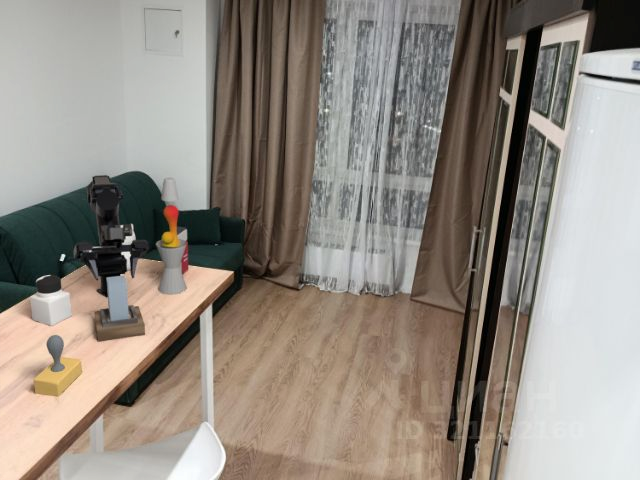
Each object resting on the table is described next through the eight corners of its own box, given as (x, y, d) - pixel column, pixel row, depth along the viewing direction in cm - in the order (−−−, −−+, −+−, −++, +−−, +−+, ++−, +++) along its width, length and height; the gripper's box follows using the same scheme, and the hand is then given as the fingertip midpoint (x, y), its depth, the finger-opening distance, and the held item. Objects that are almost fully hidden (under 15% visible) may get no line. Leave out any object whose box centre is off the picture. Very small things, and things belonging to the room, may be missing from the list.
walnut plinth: (95, 321, 162) (93, 307, 161) (139, 315, 167) (138, 302, 165) (98, 341, 152) (97, 327, 151) (145, 334, 157) (144, 320, 155)
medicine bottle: (72, 316, 164) (68, 276, 160) (51, 326, 158) (46, 285, 154) (53, 310, 167) (49, 270, 163) (32, 320, 161) (27, 279, 157)
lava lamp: (170, 280, 190) (166, 173, 178) (193, 286, 187) (191, 177, 175) (151, 290, 182) (146, 179, 171) (175, 297, 179) (171, 184, 167)
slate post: (109, 315, 159) (106, 277, 156) (126, 312, 161) (124, 275, 157) (110, 322, 155) (108, 284, 152) (128, 320, 157) (126, 282, 154)
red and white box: (175, 282, 189) (174, 238, 184) (163, 280, 190) (161, 236, 185) (189, 269, 199) (188, 227, 194) (177, 268, 200) (176, 225, 195)
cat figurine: (142, 262, 203) (139, 220, 198) (130, 276, 192) (127, 232, 186) (115, 260, 203) (112, 219, 198) (102, 275, 191) (99, 231, 186)
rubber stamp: (59, 369, 139) (54, 324, 135) (83, 372, 139) (78, 327, 135) (34, 393, 130) (28, 345, 126) (59, 397, 129) (53, 348, 125)
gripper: (76, 213, 152) (82, 270, 147) (149, 212, 162) (157, 266, 157) (70, 231, 161) (76, 285, 156) (140, 229, 171) (148, 280, 166)
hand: (115, 279), depth 159 cm, fingers open, 9 cm apart
